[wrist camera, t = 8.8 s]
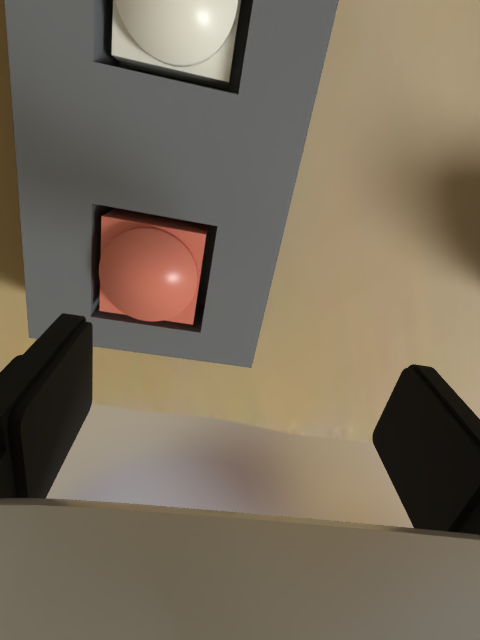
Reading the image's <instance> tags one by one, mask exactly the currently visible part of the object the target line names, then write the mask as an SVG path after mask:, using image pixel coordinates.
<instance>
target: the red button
mask: <svg viewBox="0 0 480 640" xmlns="http://www.w3.org/2000/svg"><path fill="white" fill-rule="evenodd" d="M207 229H208V225H206V224H201V223H195V222H190V221H184V220H179V219H173V218H168V217H162V216H156V215H151V214H145V213H140V212H134V211H129V210H123V209H118V208H115V209H113V210H111V211H110V212H108V213H106V214H104V215H102V218H101V259H100V263H99V278H100V309H99V311H104V312H110V313H117V314H124V315H128V316H130V317H132V318H135V319H138V320H143V321H162V320H165V321H172V322H178V323H185V324H192V325H193V322H194V316H195V310H196V304H197V297H198V290H199V283H200V277H201V270H202V263H203V256H204V249H205V243H206V236H207Z"/></svg>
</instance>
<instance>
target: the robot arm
mask: <svg viewBox="0 0 480 640" xmlns="http://www.w3.org/2000/svg"><path fill="white" fill-rule="evenodd" d="M92 353H93V327H92V323H91V322H86V318H85V317H84V316H79V315H72V314H65V313H62V314H61V315H60V316H59V317H58V318H57V319H56V320H55V321H54V322H53V323H52V324H51V325H50V326H49V328H48V329H47V330H46V331H45V332H44V333H43V334H42V335H41V336H40V337H39V338H38V339H37V340H36V341H35V343H34V344H33V345H32V346H31V347H30V348H29V349H28V350H27V351H26V352H25V353H24V354H23V355H19V356H17V357H15V358H14V359H13V360H12V361H11V362H10V363H9V364H8V365H7V366H6V367H5V368H4V369H3V370H2V371H1V372H0V640H480V419H479V418H478V417H477V416H476V415H475V414H474V412H473V411H472V410H471V409H470V408H469V407H468V406H467V405H466V404H465V402H464V401H463V400H462V399H461V398H460V397H459V396H458V395H457V394H456V393H455V391H454V390H453V389H452V388H451V387H450V386H449V385H448V384H447V383H446V381H445V380H444V379H443V378H442V377H441V376H440V375H439V374H438V373H437V371H436V370H435V369H434V368H432V367H428V366H421V365H414V364H413V365H410V366H409V367H408V368H405V369H404V370H403V371H402V373H401V375H400V377H399V379H398V381H397V383H396V386H395V388H394V390H393V392H392V394H391V396H390V398H389V400H388V402H387V404H386V407H385V409H384V411H383V413H382V415H381V417H380V419H379V421H378V423H377V425H376V428H375V430H374V432H373V443H374V446H375V448H376V450H377V452H378V454H379V456H380V458H381V460H382V462H383V464H384V467H385V469H386V470H387V473H388V475H389V477H390V479H391V481H392V483H393V485H394V487H395V489H396V491H397V493H398V495H399V497H400V500H401V502H402V504H403V506H404V508H405V510H406V512H407V514H408V516H409V518H410V520H411V522H412V525H413V527H414V528H405V527H394V526H384V525H373V524H362V523H351V522H340V521H329V520H318V519H305V518H295V517H283V516H272V515H261V514H249V513H238V512H225V511H212V510H201V509H189V508H177V507H165V506H153V505H140V504H127V503H112V502H97V501H82V500H67V499H45V498H46V496H47V494H48V492H49V490H50V488H51V486H52V484H53V482H54V480H55V478H56V476H57V474H58V472H59V470H60V468H61V466H62V464H63V462H64V460H65V458H66V456H67V454H68V452H69V450H70V448H71V446H72V444H73V442H74V440H75V438H76V436H77V434H78V432H79V430H80V428H81V426H82V424H83V422H84V420H85V418H86V416H87V414H88V412H89V410H90V407H91V404H92Z"/></svg>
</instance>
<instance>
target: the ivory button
mask: <svg viewBox="0 0 480 640" xmlns="http://www.w3.org/2000/svg"><path fill="white" fill-rule="evenodd" d="M240 6H241V0H113V20H112V56H113V57H115V58H116V59H117V60H118V61H119V62H120V63H122V64H123V65H124V66H125V67H127V68H131V69H136V70H140V71H145V72H149V73H153V74H158V75H162V76H167V77H171V78H175V79H180V80H184V81H188V82H193V83H197V84H202V85H206V86H210V87H215V88H219V89H224V90H228V88H229V81H230V74H231V67H232V60H233V54H234V47H235V40H236V33H237V27H238V20H239V13H240Z"/></svg>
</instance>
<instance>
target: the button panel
mask: <svg viewBox="0 0 480 640" xmlns="http://www.w3.org/2000/svg"><path fill="white" fill-rule="evenodd" d="M338 1H339V0H241V6H240V13H239V20H238V27H237V33H236V40H235V47H234V54H233V60H232V67H231V74H230V81H229V88H228V90H224V89H219V88H215V87H210V86H206V85H202V84H197V83H193V82H188V81H184V80H180V79H175V78H171V77H167V76H162V75H158V74H153V73H149V72H145V71H140V70H136V69H131V68H127V67H125V66H124V65H123V64H122V63H120V62H119V61H118V60H117V59H116V58H115V57H113V56H112V20H113V0H5V14H6V28H7V42H8V55H9V69H10V83H11V97H12V111H13V124H14V138H15V152H16V166H17V179H18V193H19V207H20V221H21V235H22V248H23V262H24V276H25V290H26V304H27V317H28V331H29V338H35V339H38V338H39V337H40V336H41V335H42V334H43V333H44V332H45V331H46V330H47V329H48V328H49V326H50V325H51V324H52V323H53V322H54V321H55V320H56V319H57V318H58V317H59V316H60V315H61V314H62V313H65V314H72V315H79V316H84V317H85V318H86V322H91V323H92V327H93V346H94V347H102V348H109V349H116V350H124V351H131V352H138V353H146V354H153V355H161V356H168V357H175V358H183V359H190V360H198V361H205V362H212V363H220V364H227V365H235V366H242V367H249V368H251V367H252V363H253V359H254V354H255V350H256V346H257V342H258V338H259V333H260V329H261V325H262V321H263V317H264V312H265V308H266V304H267V300H268V296H269V291H270V287H271V283H272V279H273V274H274V270H275V266H276V262H277V258H278V253H279V249H280V245H281V241H282V237H283V232H284V228H285V224H286V220H287V216H288V211H289V207H290V203H291V199H292V195H293V190H294V186H295V182H296V178H297V174H298V169H299V165H300V161H301V157H302V153H303V148H304V144H305V140H306V136H307V131H308V127H309V123H310V119H311V115H312V110H313V106H314V102H315V98H316V94H317V89H318V85H319V81H320V77H321V73H322V68H323V64H324V60H325V56H326V52H327V47H328V43H329V39H330V35H331V31H332V26H333V22H334V18H335V14H336V10H337V5H338ZM115 208H118V209H123V210H129V211H134V212H140V213H145V214H151V215H156V216H162V217H168V218H173V219H179V220H184V221H190V222H195V223H201V224H206V225H208V229H207V236H206V243H205V249H204V256H203V263H202V270H201V277H200V283H199V290H198V297H197V304H196V310H195V316H194V322H193V325H192V324H185V323H178V322H172V321H165V320H162V321H143V320H138V319H135V318H132V317H130V316H128V315H124V314H117V313H110V312H104V311H99V309H100V278H99V263H100V259H101V218H102V215H104V214H106V213H108V212H110V211H111V210H113V209H115Z"/></svg>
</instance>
